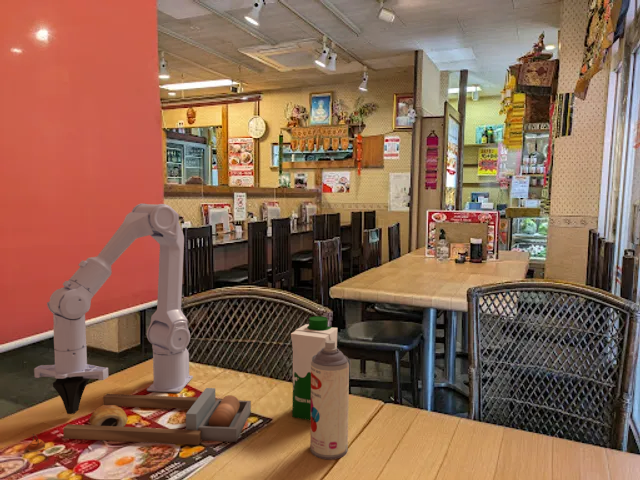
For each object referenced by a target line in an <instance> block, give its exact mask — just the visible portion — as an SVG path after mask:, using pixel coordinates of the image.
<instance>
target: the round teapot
mask: <svg viewBox="0 0 640 480" xmlns="http://www.w3.org/2000/svg"><path fill="white" fill-rule="evenodd" d="M34 436H35V437H34ZM45 448H46V444H45V441H43V440H42V439H39V437H38V436H37V435H36V434H34V433H33V434H32V440H31V442H29V444H28V446H27V451H28V452H29V453H35V452H39V451H42V450H43V449H45Z"/></svg>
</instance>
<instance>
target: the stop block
mask: <svg viewBox="0 0 640 480" xmlns="http://www.w3.org/2000/svg"><path fill="white" fill-rule="evenodd" d="M197 398H198V399H197V400H196V401H195V403H194V404H193V405H192V407H191V408H190V409H187V412H186V413H185V430H198V427H199V426H200V424H201V423H202V421H203V420H204V418H205V417H206V415H207V414H208V413H209V411H210V410H211V408H212V407H213V405H214V404H215V402H216V401H215V398H216V388H215V387H206V388H204V390H203V391H202V392H201V394H200V395H199V396H198V397H197Z"/></svg>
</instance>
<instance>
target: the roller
mask: <svg viewBox="0 0 640 480" xmlns="http://www.w3.org/2000/svg"><path fill="white" fill-rule="evenodd" d="M221 399H222V400H221V402H220V404H219V405H218V407H217V408H216V410H215V411H214V413H213V414H212V416H211V417H210V419H209V426H215V427H229V426H230V424H231V422H232V421H233V419H234V417H235V415H236V413H237V411H238V410H239V407H240V403H239V400H240V399H238V398H237V396H235V395H226V396H224V397H223V398H221Z"/></svg>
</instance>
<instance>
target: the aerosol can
mask: <svg viewBox="0 0 640 480" xmlns="http://www.w3.org/2000/svg"><path fill="white" fill-rule="evenodd" d="M349 381H350V364H349V358H348V356H346V355H345V354H344V353H343V352H342V351H341V350H340V349H339V348H338V347H335V341H332V340H328V341H326V342H325V347H323V348H322V349H321V350H320V351H319V352H318V353H317V354H316V355H314V356H313V357H312V362H311V420H310V441H309V442H310V447H309V448H310V450H309V451H310V452H311V454H312V455H313V456H315V457H316V458H318V459H322V460H337V459H340V458H343V457H344V456H346V454H347V453H348V451H349V448H348V447H349V446H348V445H349V402H350V401H349V393H350V391H349V390H350V389H349V388H350V387H349V384H350V382H349Z"/></svg>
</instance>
